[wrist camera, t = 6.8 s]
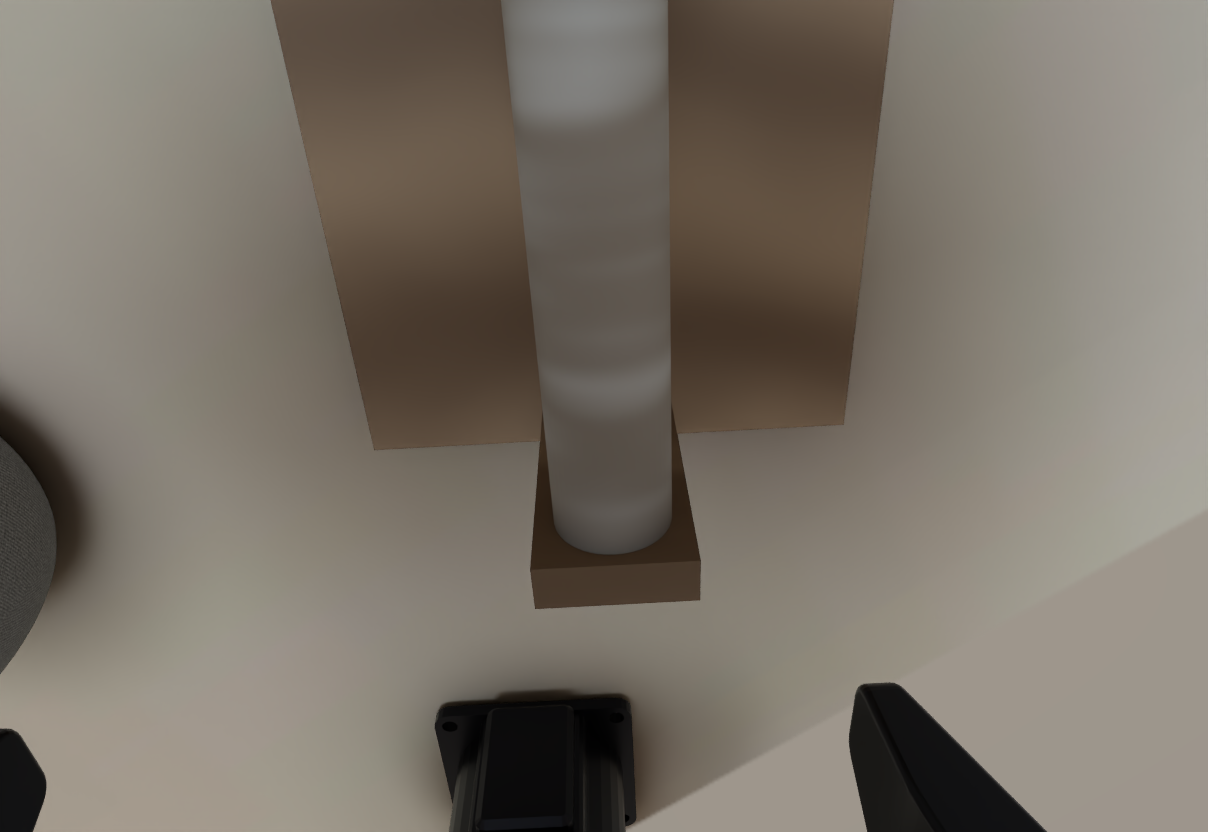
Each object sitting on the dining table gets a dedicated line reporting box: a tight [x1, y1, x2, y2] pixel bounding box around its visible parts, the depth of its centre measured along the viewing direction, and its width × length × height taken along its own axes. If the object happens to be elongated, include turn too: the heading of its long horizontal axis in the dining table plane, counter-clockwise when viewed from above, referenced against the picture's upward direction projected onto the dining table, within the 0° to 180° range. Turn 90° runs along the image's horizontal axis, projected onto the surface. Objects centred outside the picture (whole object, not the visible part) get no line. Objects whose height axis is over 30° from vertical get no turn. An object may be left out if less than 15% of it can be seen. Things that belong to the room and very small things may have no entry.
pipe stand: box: [271, 0, 894, 609], centre depth 14 cm, size 18×12×7 cm, turn 3°
